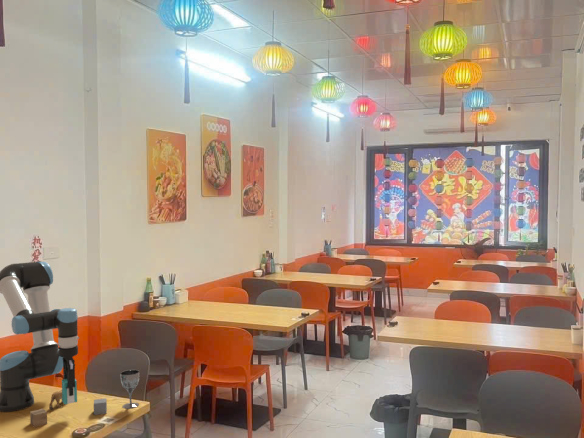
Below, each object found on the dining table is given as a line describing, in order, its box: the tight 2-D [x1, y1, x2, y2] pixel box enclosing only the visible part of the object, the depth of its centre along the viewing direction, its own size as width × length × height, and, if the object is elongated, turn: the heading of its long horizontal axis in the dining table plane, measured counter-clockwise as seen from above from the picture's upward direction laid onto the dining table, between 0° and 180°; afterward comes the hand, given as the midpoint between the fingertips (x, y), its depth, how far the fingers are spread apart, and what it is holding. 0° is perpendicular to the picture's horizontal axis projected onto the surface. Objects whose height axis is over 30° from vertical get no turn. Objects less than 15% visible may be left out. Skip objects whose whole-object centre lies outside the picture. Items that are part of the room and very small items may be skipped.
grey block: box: [93, 397, 108, 416], centre depth 233 cm, size 5×5×5 cm
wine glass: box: [120, 369, 140, 410], centre depth 240 cm, size 8×8×15 cm
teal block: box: [61, 378, 78, 405], centre depth 227 cm, size 5×5×9 cm
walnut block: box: [29, 408, 48, 428], centre depth 222 cm, size 5×5×5 cm
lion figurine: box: [48, 389, 64, 410], centre depth 242 cm, size 15×5×9 cm, turn 173°
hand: (69, 400), depth 227 cm, fingers closed on teal block, 5 cm apart
